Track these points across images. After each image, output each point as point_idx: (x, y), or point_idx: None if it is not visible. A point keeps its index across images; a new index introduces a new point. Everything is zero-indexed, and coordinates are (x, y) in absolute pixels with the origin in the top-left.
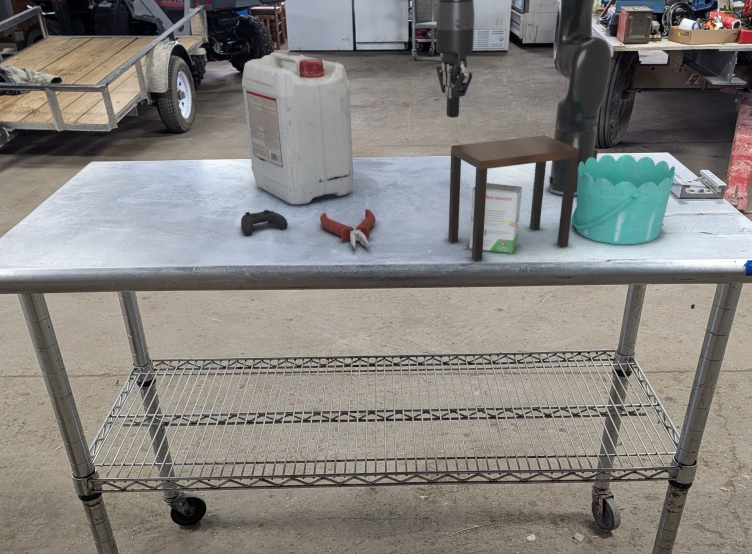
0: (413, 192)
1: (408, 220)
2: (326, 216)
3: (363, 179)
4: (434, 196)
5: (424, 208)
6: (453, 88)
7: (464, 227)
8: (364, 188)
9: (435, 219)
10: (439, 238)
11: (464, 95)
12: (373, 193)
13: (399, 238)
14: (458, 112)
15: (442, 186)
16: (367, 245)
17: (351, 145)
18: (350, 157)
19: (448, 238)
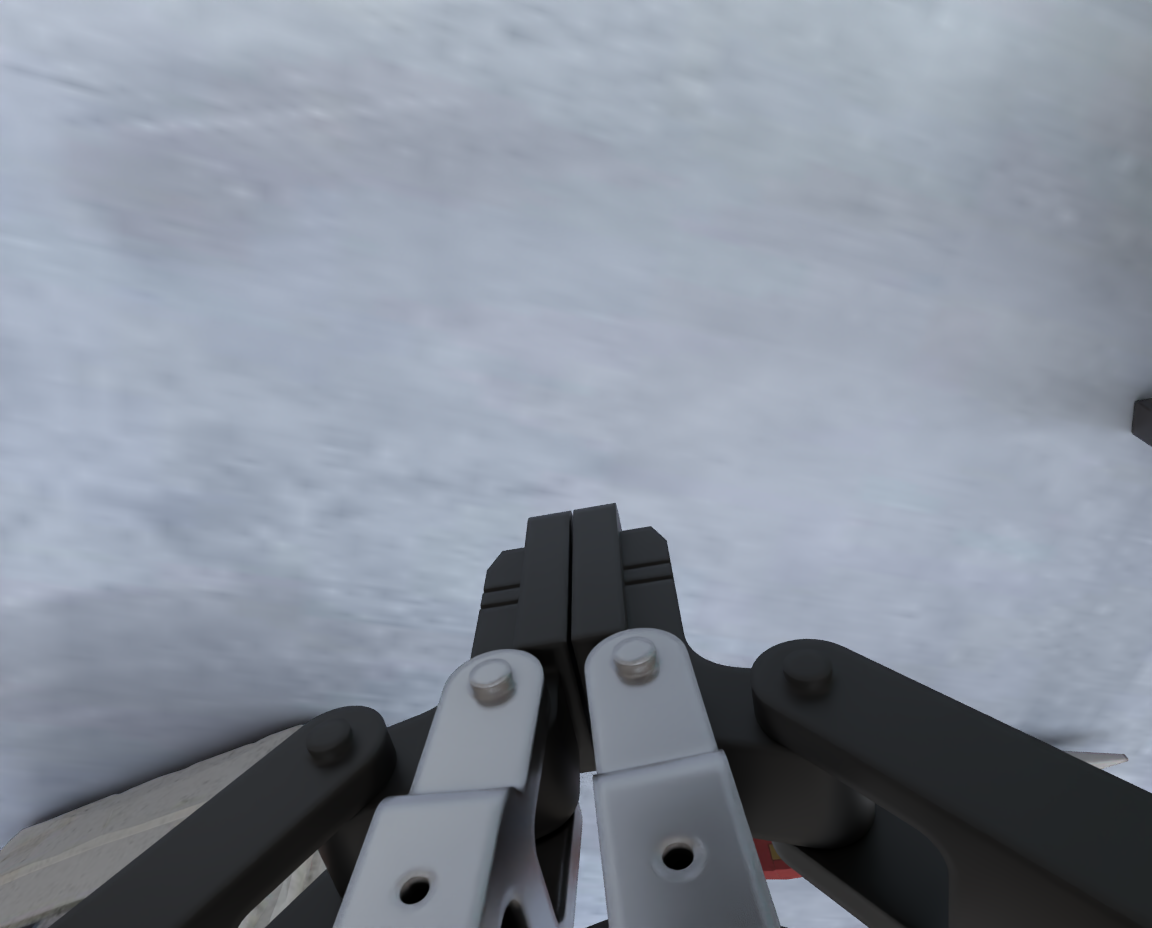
0: (325, 442)
1: (781, 546)
2: (776, 870)
3: (66, 640)
4: (416, 345)
5: (621, 441)
6: (384, 768)
7: (988, 310)
8: (233, 654)
9: (811, 424)
10: (1079, 464)
11: (838, 649)
12: (323, 628)
13: (997, 618)
14: (664, 539)
15: (210, 251)
16: (1108, 762)
17: (243, 924)
18: (298, 875)
19: (1140, 438)
